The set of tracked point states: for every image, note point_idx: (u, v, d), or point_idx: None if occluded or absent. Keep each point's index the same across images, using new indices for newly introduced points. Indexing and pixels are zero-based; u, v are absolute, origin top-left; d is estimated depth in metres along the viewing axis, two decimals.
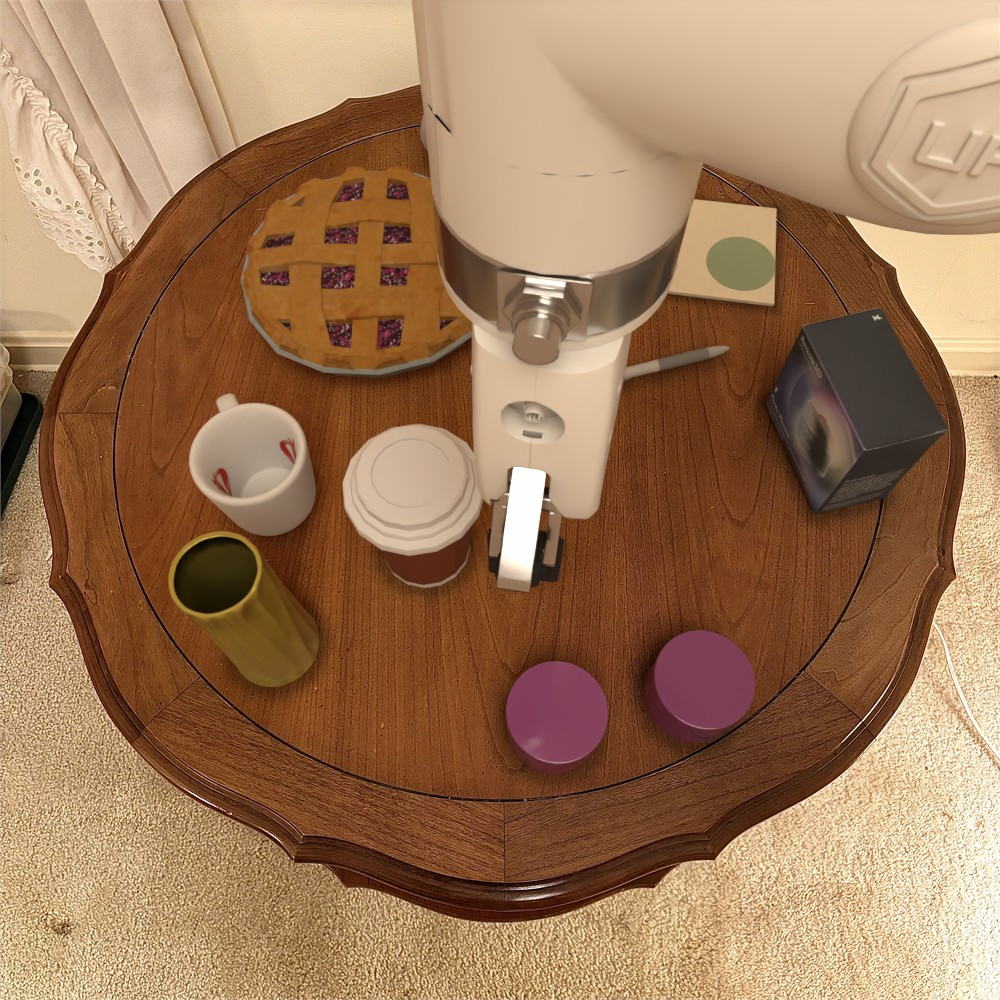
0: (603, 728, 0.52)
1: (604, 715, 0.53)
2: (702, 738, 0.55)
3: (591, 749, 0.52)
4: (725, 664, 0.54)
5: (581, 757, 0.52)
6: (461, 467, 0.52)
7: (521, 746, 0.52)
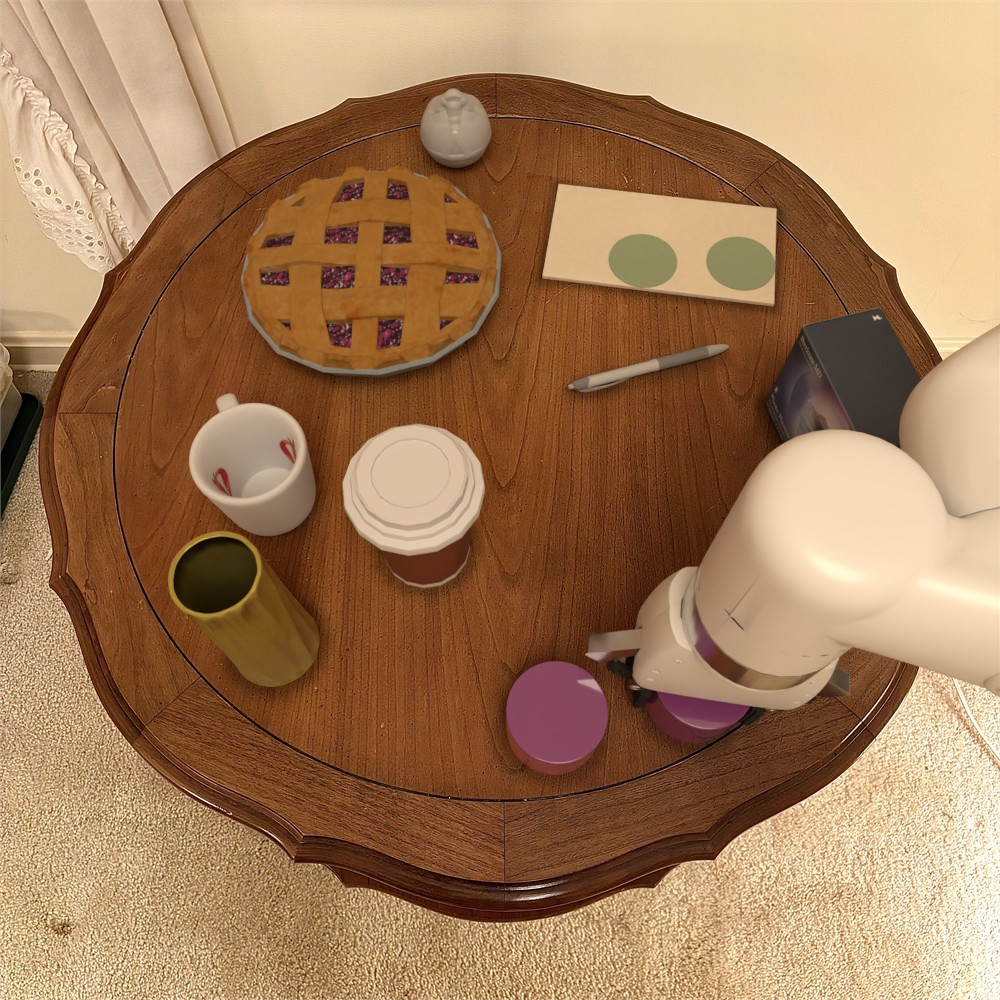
0: (603, 728, 0.52)
1: (604, 715, 0.53)
2: (702, 738, 0.55)
3: (591, 749, 0.52)
4: None
5: (581, 757, 0.52)
6: (461, 467, 0.52)
7: (521, 746, 0.52)
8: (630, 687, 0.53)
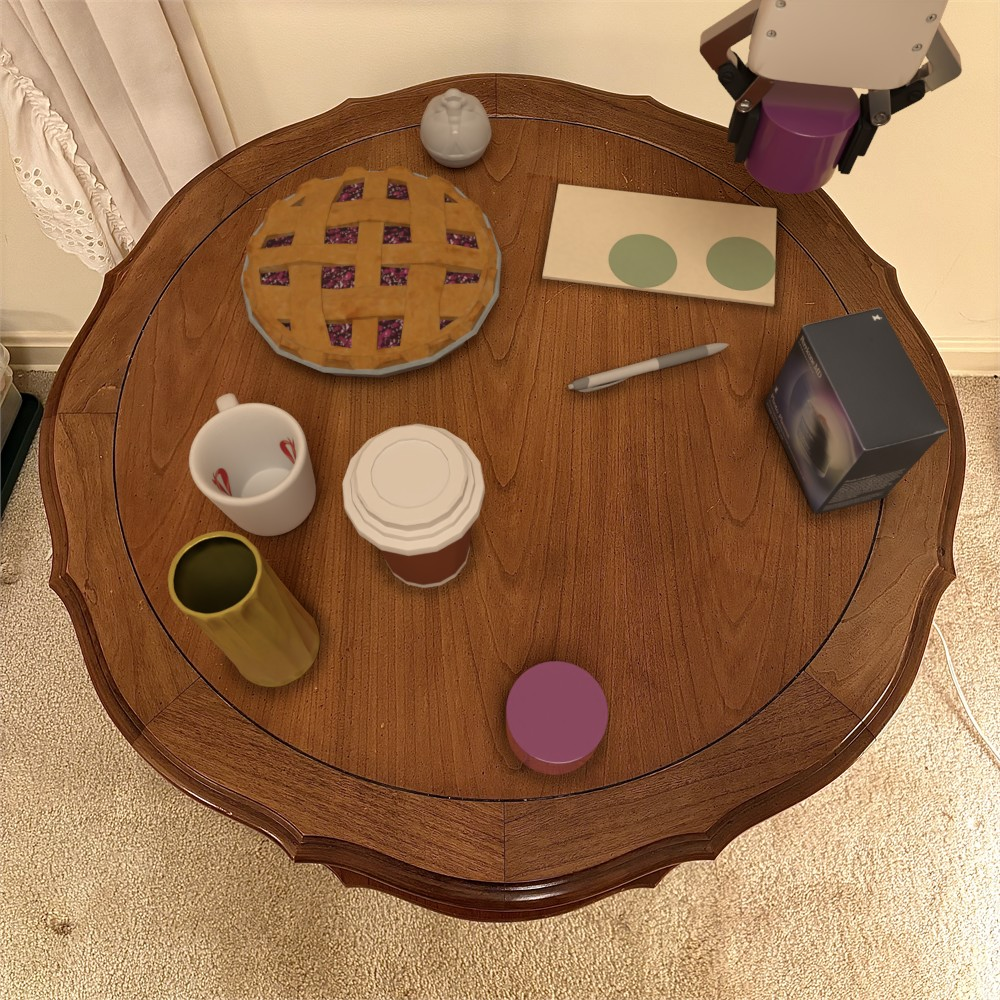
0: (603, 728, 0.52)
1: (604, 715, 0.53)
2: (806, 174, 0.56)
3: (591, 749, 0.52)
4: (830, 91, 0.55)
5: (581, 757, 0.52)
6: (461, 467, 0.52)
7: (521, 746, 0.52)
8: (738, 108, 0.55)
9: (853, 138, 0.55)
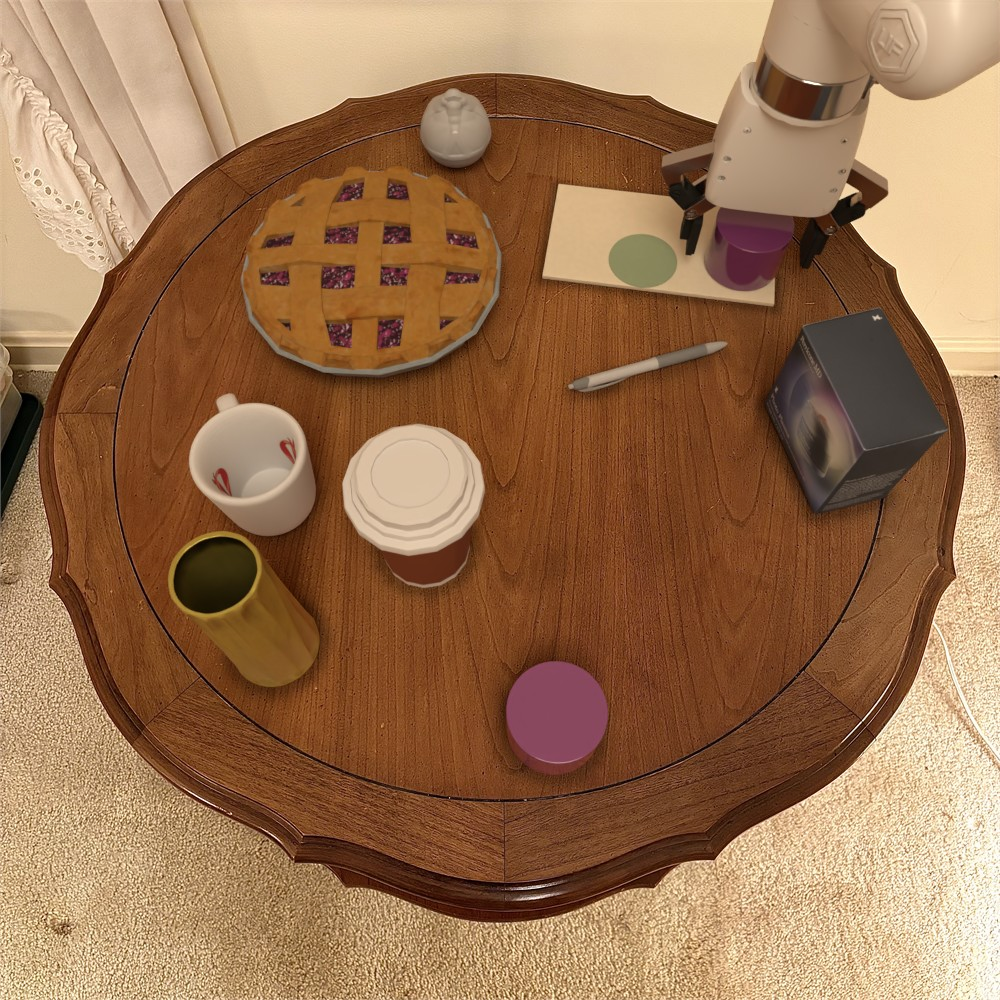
0: (603, 728, 0.52)
1: (604, 715, 0.53)
2: (752, 278, 0.71)
3: (591, 749, 0.52)
4: (771, 214, 0.70)
5: (581, 757, 0.52)
6: (461, 467, 0.52)
7: (521, 746, 0.52)
8: (685, 215, 0.68)
9: (810, 243, 0.69)
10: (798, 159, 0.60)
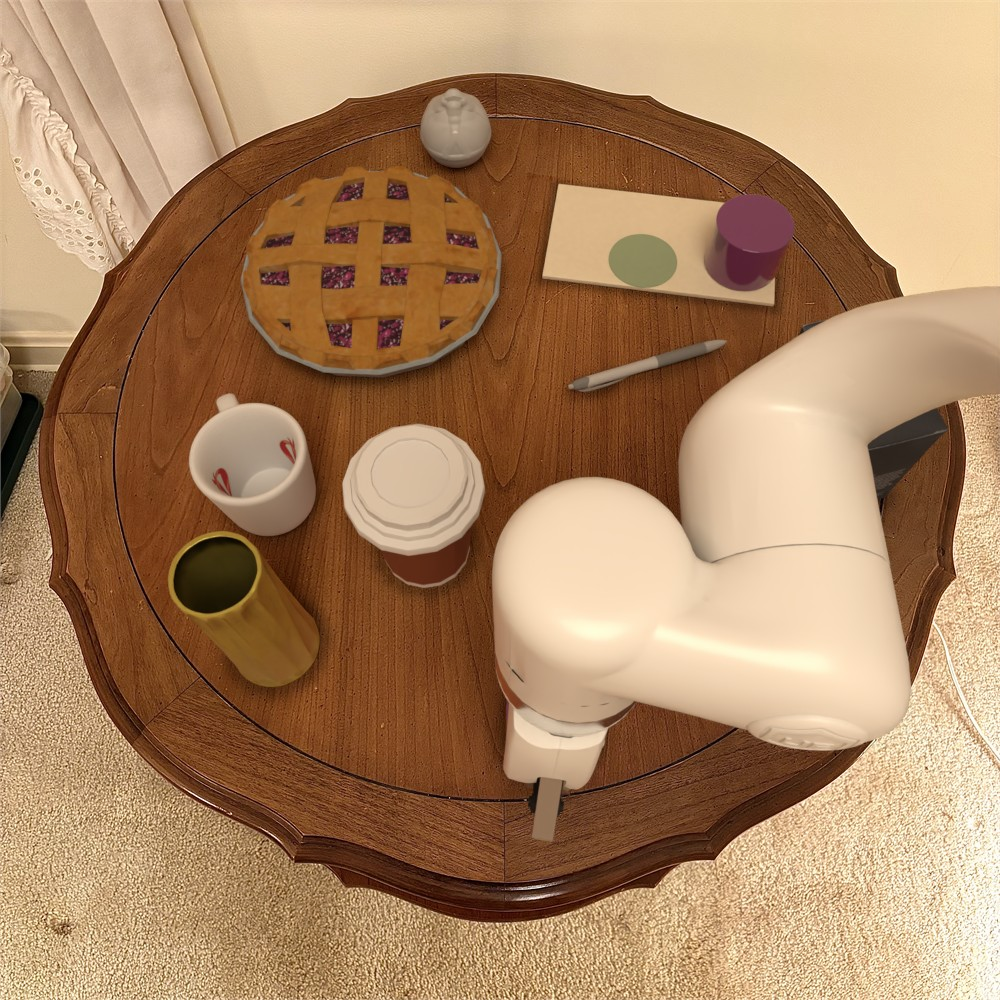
0: None
1: None
2: (752, 278, 0.71)
3: None
4: (771, 214, 0.70)
5: None
6: (461, 467, 0.52)
7: None
8: None
9: None
10: None
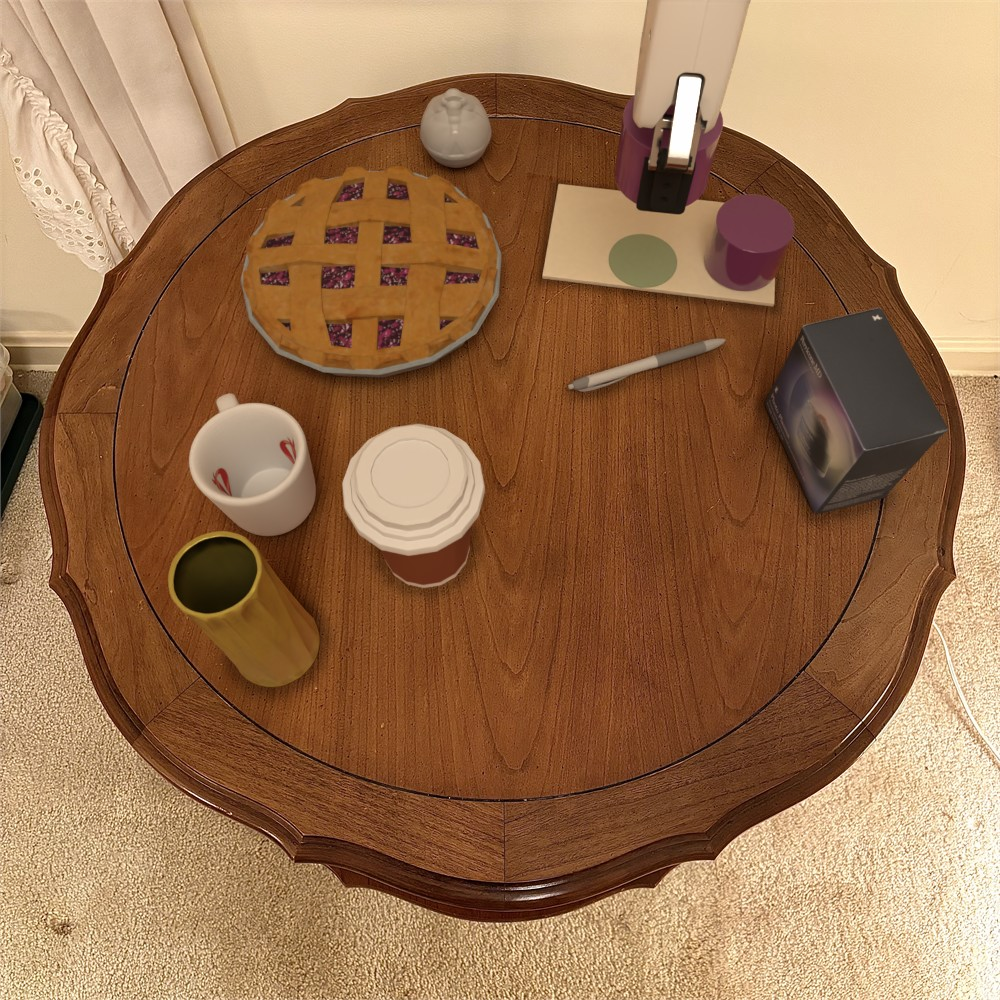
0: (719, 128, 0.54)
1: (719, 120, 0.54)
2: (752, 278, 0.71)
3: (709, 143, 0.53)
4: (771, 214, 0.70)
5: (700, 150, 0.53)
6: (461, 467, 0.52)
7: (640, 142, 0.53)
8: None
9: None
10: None
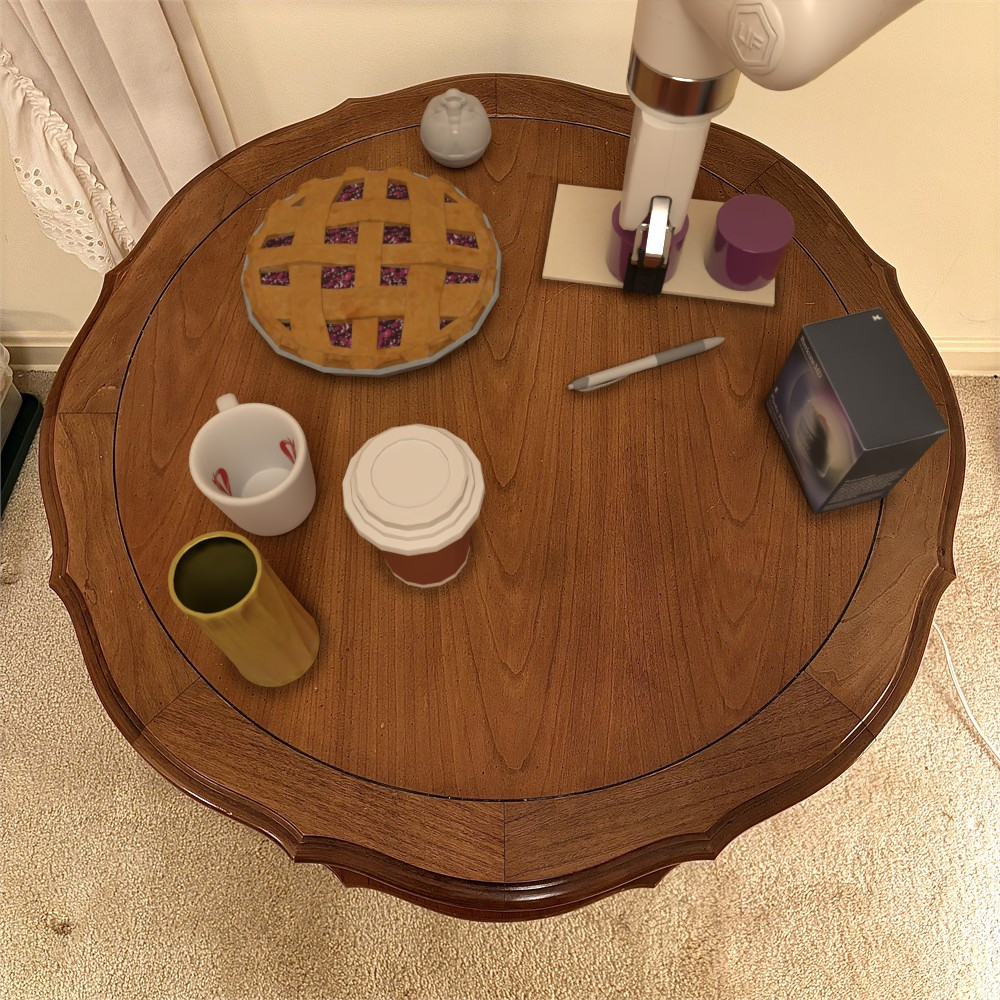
0: (686, 229, 0.69)
1: (686, 222, 0.70)
2: (752, 278, 0.71)
3: (677, 241, 0.69)
4: (771, 214, 0.70)
5: (670, 246, 0.69)
6: (461, 467, 0.52)
7: (624, 239, 0.69)
8: (665, 266, 0.66)
9: None
10: None
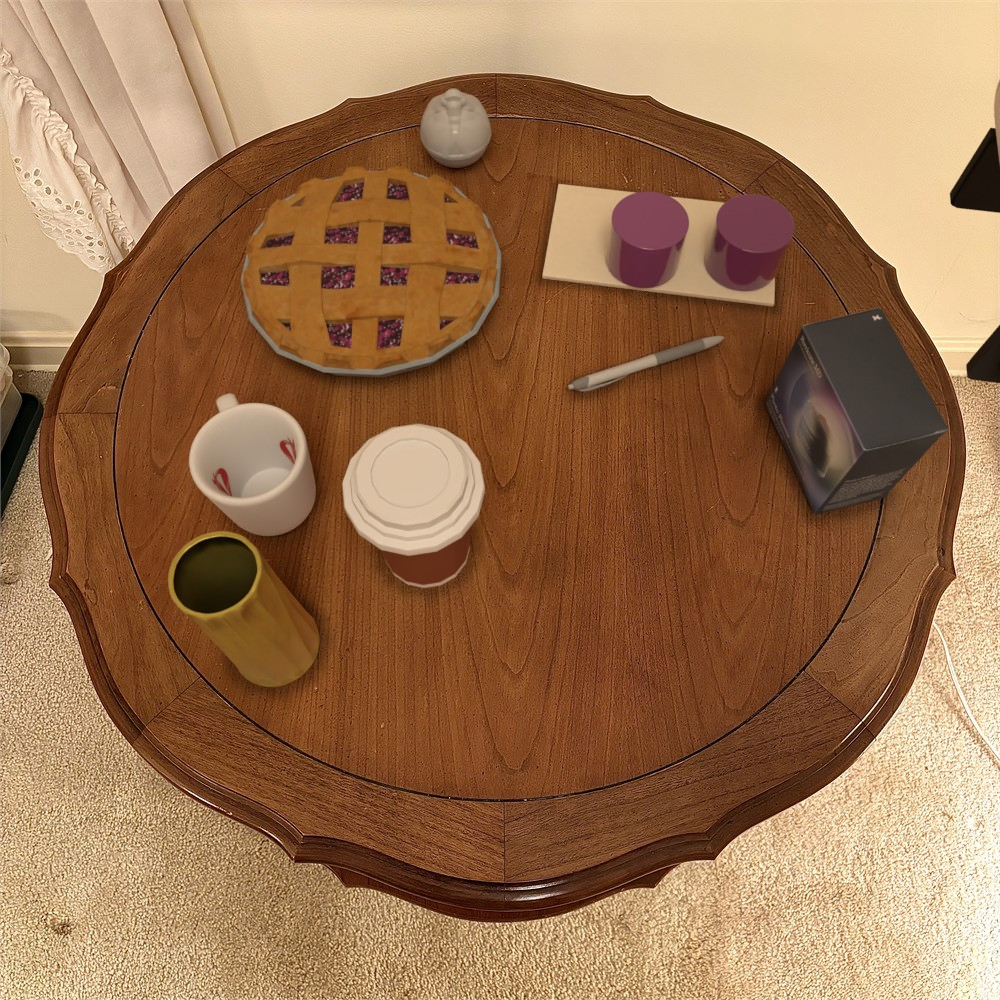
0: (686, 229, 0.69)
1: (686, 222, 0.70)
2: (752, 278, 0.71)
3: (677, 241, 0.69)
4: (771, 214, 0.70)
5: (670, 246, 0.69)
6: (461, 467, 0.52)
7: (624, 239, 0.69)
8: None
9: None
10: None
